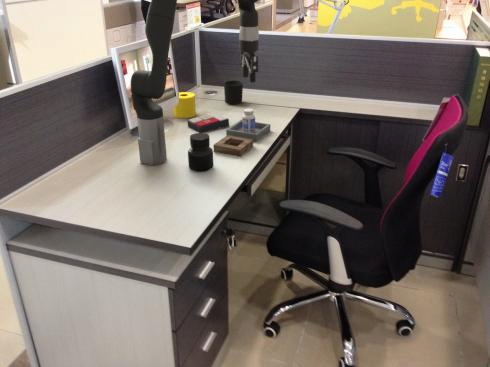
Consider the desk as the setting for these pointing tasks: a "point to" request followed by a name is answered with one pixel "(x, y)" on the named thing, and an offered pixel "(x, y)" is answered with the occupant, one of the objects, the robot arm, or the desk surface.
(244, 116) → the pill bottle
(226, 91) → the pen holder
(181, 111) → the yellow piece
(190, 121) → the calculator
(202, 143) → the ink bottle
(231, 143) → the tray
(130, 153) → the desk surface
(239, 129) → the tray
